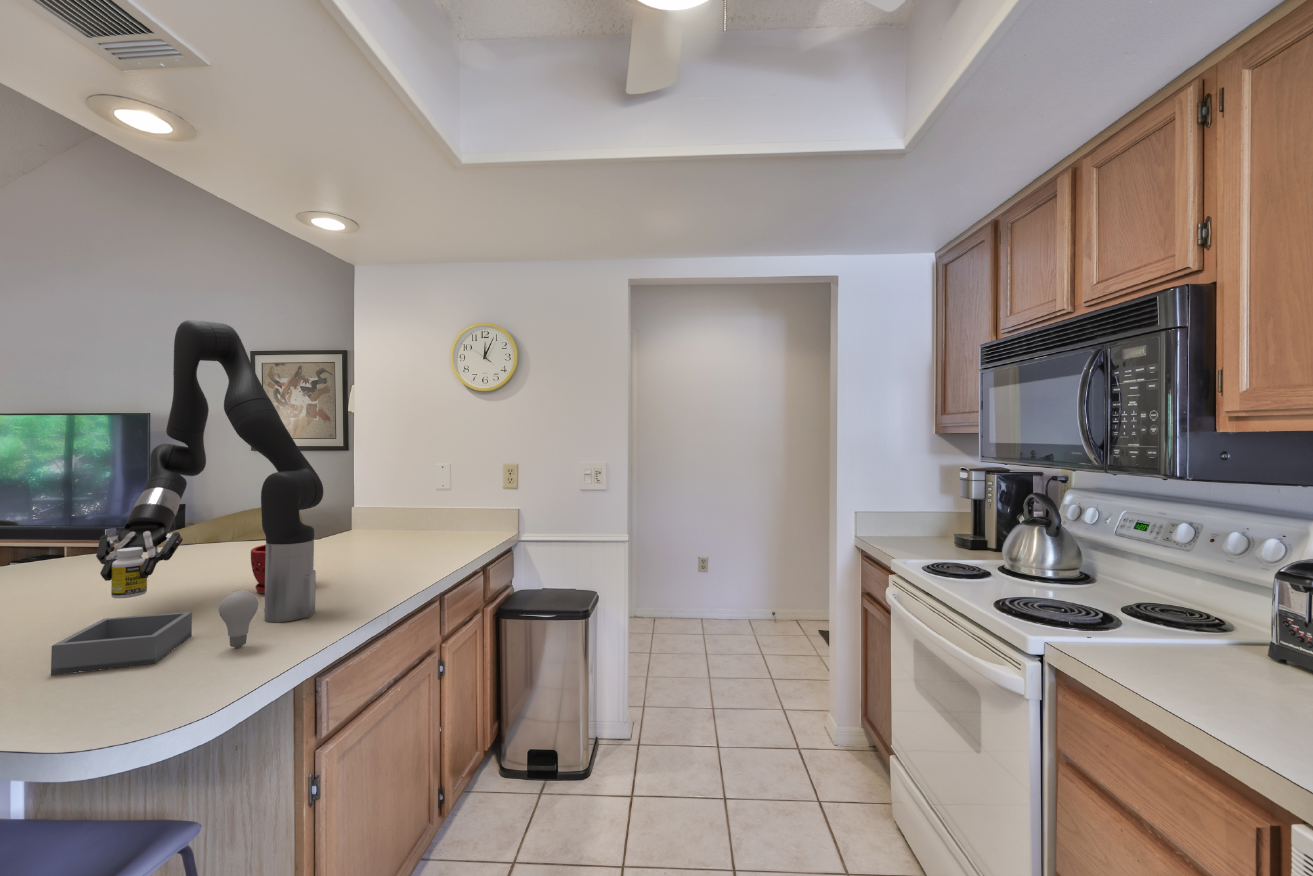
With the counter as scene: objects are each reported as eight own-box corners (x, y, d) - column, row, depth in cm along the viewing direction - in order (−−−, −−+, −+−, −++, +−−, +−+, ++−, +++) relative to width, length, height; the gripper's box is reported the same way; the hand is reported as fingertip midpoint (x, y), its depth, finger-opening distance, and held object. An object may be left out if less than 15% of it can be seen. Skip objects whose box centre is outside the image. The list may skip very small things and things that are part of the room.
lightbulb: (214, 656, 102) (215, 597, 102) (222, 645, 107) (223, 589, 107) (254, 651, 105) (255, 593, 105) (260, 640, 110) (261, 585, 110)
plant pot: (268, 584, 152) (269, 541, 152) (318, 583, 154) (319, 540, 154) (238, 597, 139) (239, 550, 139) (293, 596, 141) (294, 549, 141)
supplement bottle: (124, 599, 112) (124, 552, 112) (104, 598, 113) (104, 551, 113) (154, 592, 117) (153, 546, 117) (134, 591, 118) (134, 545, 118)
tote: (191, 636, 112) (192, 611, 112) (154, 664, 98) (155, 636, 98) (103, 644, 107) (103, 618, 107) (50, 675, 93) (51, 645, 93)
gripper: (107, 503, 119) (71, 570, 108) (188, 501, 125) (162, 564, 113) (120, 524, 124) (87, 590, 113) (198, 521, 129) (174, 583, 118)
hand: (125, 577), depth 113 cm, fingers closed on supplement bottle, 5 cm apart
